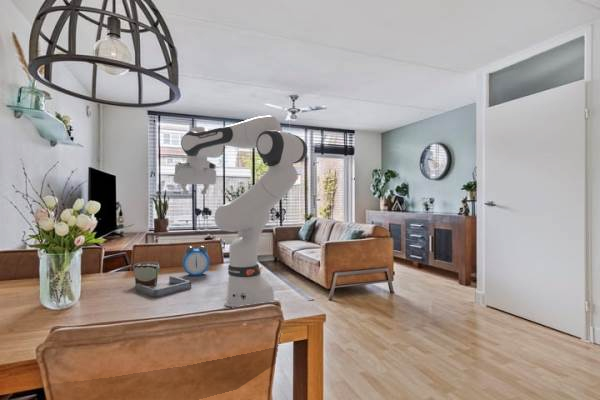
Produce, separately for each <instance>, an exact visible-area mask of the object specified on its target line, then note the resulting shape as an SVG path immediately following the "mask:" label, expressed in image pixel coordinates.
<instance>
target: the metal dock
mask: <svg viewBox="0 0 600 400" xmlns="http://www.w3.org/2000/svg"><path fill="white" fill-rule="evenodd" d="M168 277H169V278H168V279H169V280H168V282H169V283H170V284H172V285H169V286H165V287H161V288H157V289H156V288H154V287H149V286H144V285H141V284H138V283H137V284H135V292H137V293H141V294H144V295H146V296H149V297H152V298H155V299H157V298H160V297H163V296H166V295H170V294H175V293H177V292H181V291H185V290H189V289H191V288H192V281H191V280H187V279H184V278H180V277H178V276H174V275H169V276H168Z"/></svg>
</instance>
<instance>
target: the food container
mask: <svg viewBox="0 0 600 400" xmlns="http://www.w3.org/2000/svg"><path fill="white" fill-rule="evenodd" d="M160 268H161V267H160V264H159V262H155V261H144V262H143V261H142V262H138V263H134V264H133V265H132V270H133V273H134V283H135V284H137V283H138V284H141V285H144V286H147V287H150V288H155V287H157V284H158V275H159V269H160Z"/></svg>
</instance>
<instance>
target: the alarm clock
mask: <svg viewBox="0 0 600 400" xmlns="http://www.w3.org/2000/svg"><path fill="white" fill-rule="evenodd" d="M184 254H185V255H184V257H183V261H182V267H183V270H184V272H185V273H187V275H189V276H188V277H190V276H193V277H194V276H196V277H197V276H201V275H202V276H204V273H205V272H206V271H207V270H208V269H209V266H210V256H209V254H208V248H207V246H205V245H200V246H198V247H197V246H195V248H194V247H193V246H192V245H190V246H187V247H186V248H185V249H184Z"/></svg>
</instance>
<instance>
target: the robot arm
mask: <svg viewBox="0 0 600 400" xmlns="http://www.w3.org/2000/svg"><path fill="white" fill-rule="evenodd" d="M180 145H181V149H182V151H183V152H184V153H185V154H186V161H185V162H182V161H181V162H178V163H176V164H175V166H174V167H175V168H174V173H173V174H174V175H173V182H174V183H175V184H178V185H181V186H180V187H181V189H182V190H183V191H182V193H183V195H189V190H188V188H187V186H188V185H203V189H201V191H200V194H201V195H207V190H208V189H209V188H210V187H209V185H212V186H213V185H215V184H216V183H217V171H216V169H217V165H216V164H215V163H213V162H211V161H209V160H208V158H211V159H212V158H213V159H215V158H220V157H221V156H222V154H223V153H224V151H225V146H228V147H231V148H232V147H233V148H239V149H248V150H249V149H256V152H257V153H258V155H259V157H260V158H261V159H262V162H263V164H264V165H265V166H266V167H267V166H268V169H267V170H266V172H265V173H264V174H263V175H262V176H261V177H260V178H259V179H258V180H257V181H256V182H255V184H253V185H251V187H250V188H249V189H248V190H246V191H245V192H243V193H242V194H241V195H239V196H238V197H236V198H235V199H232V200H231V201H229V202H227V203H225V204H223V205H220V206H219V207H217V209H216V210H215V212H214V216H213V217H214V222H215V225H216V227H217V229H219V230H221V231H224V232H232V233H233V232H234V233H235V232H237V234H236V236H235V239H233V240H232V241H231V243H230V244H229V264H228V266H227V267H228V268H227V270H228V272H227V273H228V275H229V276H228V281H227V286H226V295H225V299H224V300H225V301H224V303H223V304H224V306H226V307H231V308H235V307H234V306H240V305H247V304H255V303H261V302H270V301H280V302H281V299H280V298H279V297H275V294H274V289H273V286H272V284H270V283H269V282H268V280H267V279H266V278H265V277H264V276H263V275H262V274H261V271H262V270H263V266H262V267H260V265H259V263H258V247H259V241H260V238H261V235H262V232H263V229H264V228H265V226H266V225H267V224H268V222H269V220H270V211H271V209H273V208H274V206H276V205H277V204H278V203H279V202H280V201H281V200H282V199H283V198H284V197H285V196H286V195H287V194H288V193H289V191H291V189H292V188H293V187H294V185H295V184H296V182H297V180H298V172H297V169H296V168H295V166H294V164H298V163H301V162H302V161H304V159H305V158H306V156H307V154H308V146H307V143H306V141H305V140H304V139H303V138H302V137H300V136H298V135H296V134H292V133H290V132H286V131H283V129H282V126H281V123H280V121H279V119H277V118H276V117H275V116H273V115H263V116H262V115H261V116H257V117H253V118H250V119H246V120H244V121H240V122H237V123H235V124H229V125H225V126H223V127H218V128H217V127H216V128H213V129H208V128H207V127H204V126H192V127H191V128H190V129H189V131H188V132H186V133H185V134H184V136H182V138H181V141H180Z"/></svg>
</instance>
